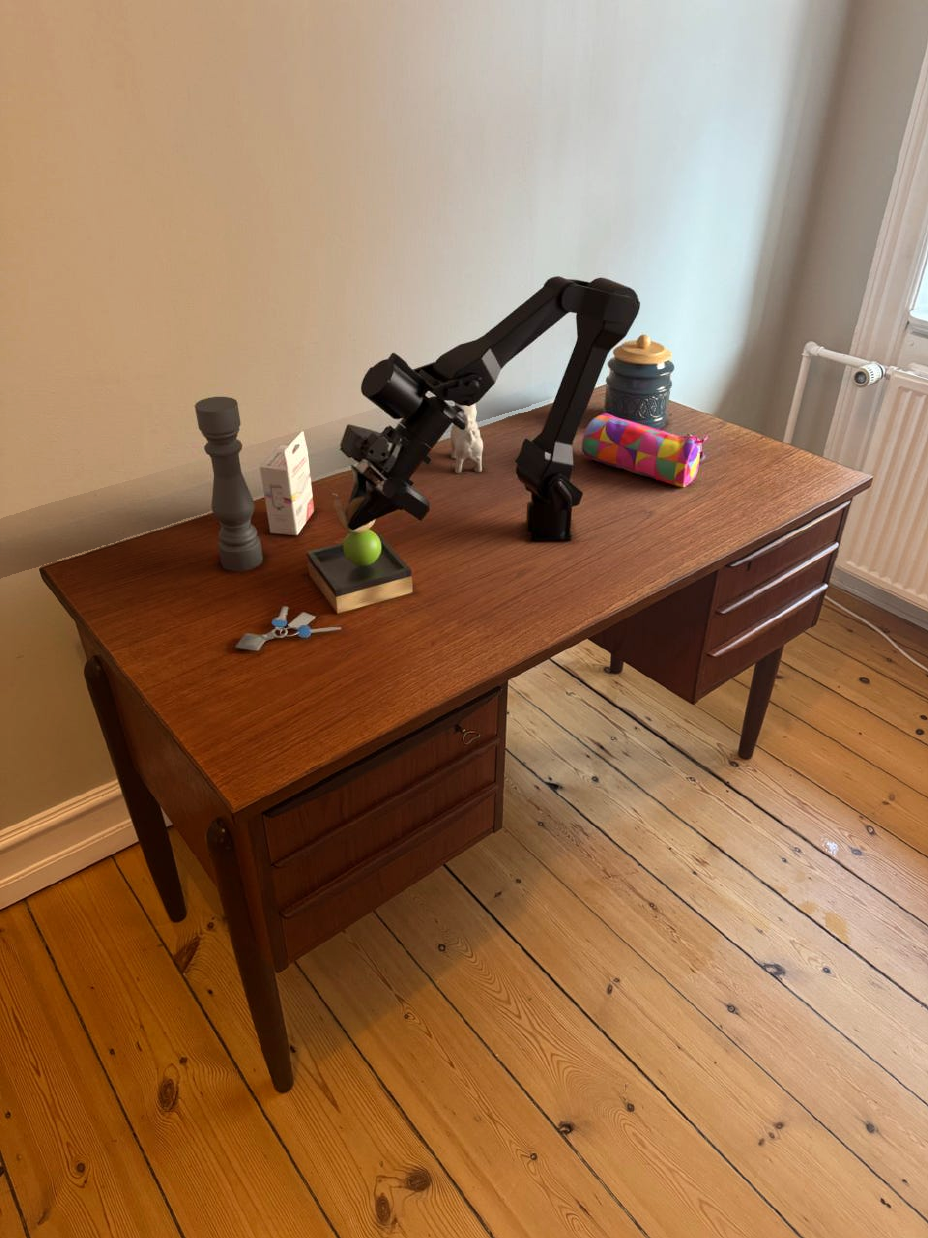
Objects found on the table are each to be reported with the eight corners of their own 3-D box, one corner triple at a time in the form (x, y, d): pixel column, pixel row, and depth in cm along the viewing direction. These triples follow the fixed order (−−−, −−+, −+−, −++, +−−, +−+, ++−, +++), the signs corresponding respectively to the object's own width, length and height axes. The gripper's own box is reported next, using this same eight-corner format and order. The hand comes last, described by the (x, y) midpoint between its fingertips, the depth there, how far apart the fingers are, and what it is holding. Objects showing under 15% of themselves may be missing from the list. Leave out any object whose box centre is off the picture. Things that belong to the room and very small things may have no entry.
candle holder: (242, 575, 131) (216, 416, 116) (212, 564, 133) (183, 406, 119) (271, 557, 135) (248, 401, 120) (241, 546, 137) (216, 392, 123)
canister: (600, 432, 174) (609, 343, 164) (603, 407, 185) (611, 323, 175) (667, 436, 173) (679, 347, 163) (665, 411, 183) (677, 326, 173)
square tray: (380, 556, 135) (379, 533, 133) (412, 592, 127) (411, 569, 125) (309, 574, 131) (306, 551, 128) (337, 613, 122) (335, 590, 120)
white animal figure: (474, 445, 169) (475, 392, 163) (485, 474, 159) (486, 418, 153) (447, 447, 168) (446, 393, 162) (456, 476, 158) (456, 419, 152)
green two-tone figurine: (332, 564, 127) (323, 487, 121) (370, 551, 130) (363, 476, 124) (350, 578, 123) (342, 500, 117) (389, 565, 126) (383, 488, 120)
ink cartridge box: (287, 508, 148) (276, 426, 139) (315, 511, 147) (306, 428, 138) (268, 533, 141) (255, 448, 132) (297, 536, 140) (286, 451, 132)
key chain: (239, 657, 114) (238, 652, 114) (226, 623, 120) (225, 618, 120) (342, 632, 119) (341, 627, 118) (325, 601, 125) (324, 596, 124)
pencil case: (707, 475, 158) (715, 428, 153) (688, 495, 152) (696, 447, 147) (597, 448, 168) (601, 403, 163) (575, 466, 161) (579, 420, 156)
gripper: (347, 381, 122) (281, 471, 124) (404, 429, 108) (329, 528, 110) (402, 424, 129) (338, 507, 131) (461, 473, 116) (389, 565, 118)
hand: (347, 525), depth 123 cm, fingers closed on green two-tone figurine
